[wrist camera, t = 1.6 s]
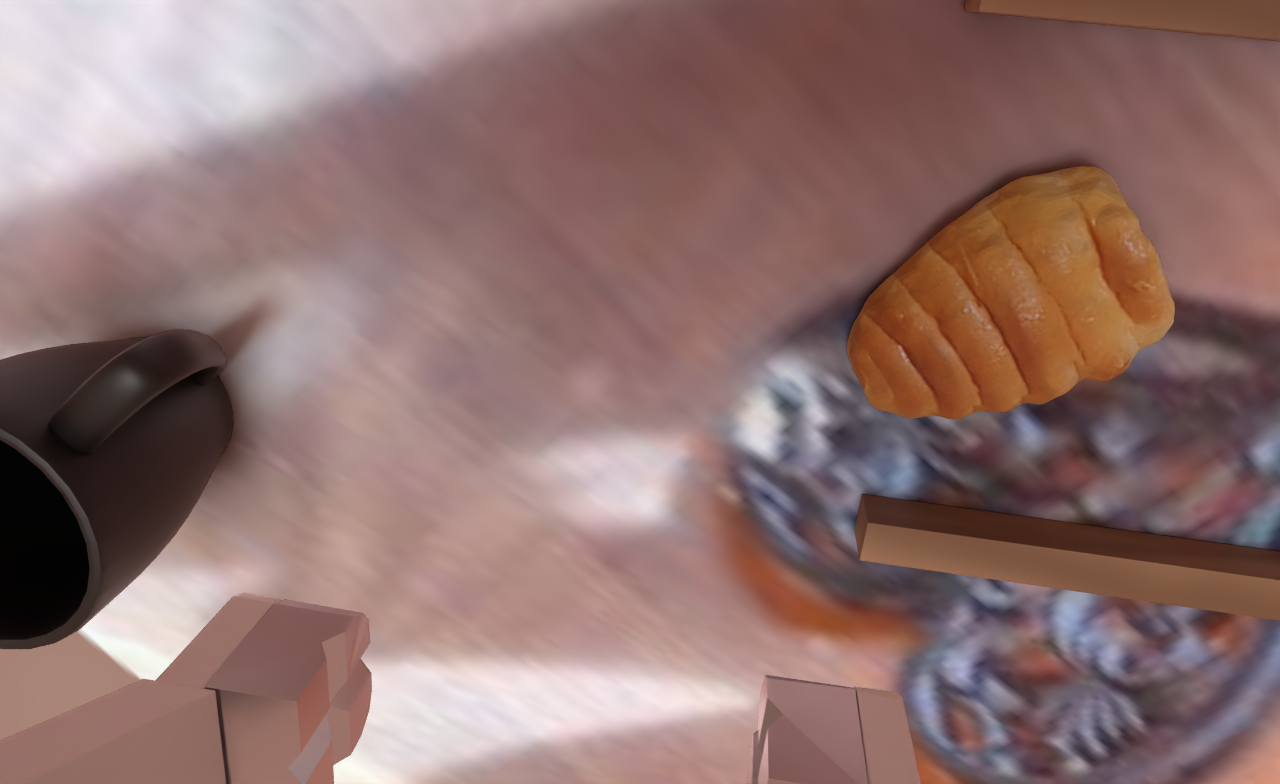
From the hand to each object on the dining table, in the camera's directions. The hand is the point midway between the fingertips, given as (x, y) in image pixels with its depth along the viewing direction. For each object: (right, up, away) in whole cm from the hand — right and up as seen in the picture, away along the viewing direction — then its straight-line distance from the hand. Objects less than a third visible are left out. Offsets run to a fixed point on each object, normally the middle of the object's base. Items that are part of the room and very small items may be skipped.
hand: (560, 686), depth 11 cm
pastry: (+13, +7, +19) cm, 24 cm away
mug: (-16, +4, +24) cm, 29 cm away
